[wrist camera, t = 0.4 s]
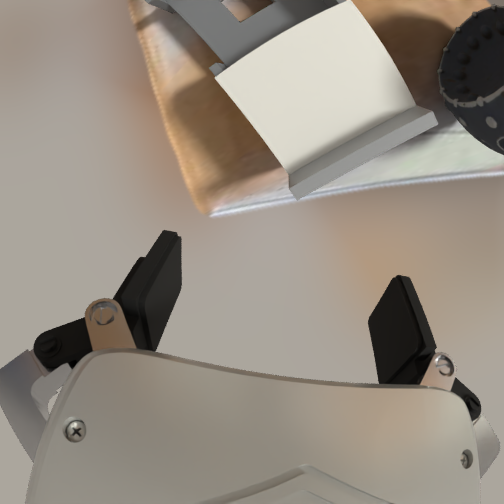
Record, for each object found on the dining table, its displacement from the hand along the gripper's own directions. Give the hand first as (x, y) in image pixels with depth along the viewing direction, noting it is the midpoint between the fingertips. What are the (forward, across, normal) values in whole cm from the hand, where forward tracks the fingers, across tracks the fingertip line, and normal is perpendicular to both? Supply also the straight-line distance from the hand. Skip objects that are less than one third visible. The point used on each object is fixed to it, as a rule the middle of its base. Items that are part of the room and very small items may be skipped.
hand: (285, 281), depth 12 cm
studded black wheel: (+30, -24, -19) cm, 43 cm away
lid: (+22, -2, -7) cm, 23 cm away
